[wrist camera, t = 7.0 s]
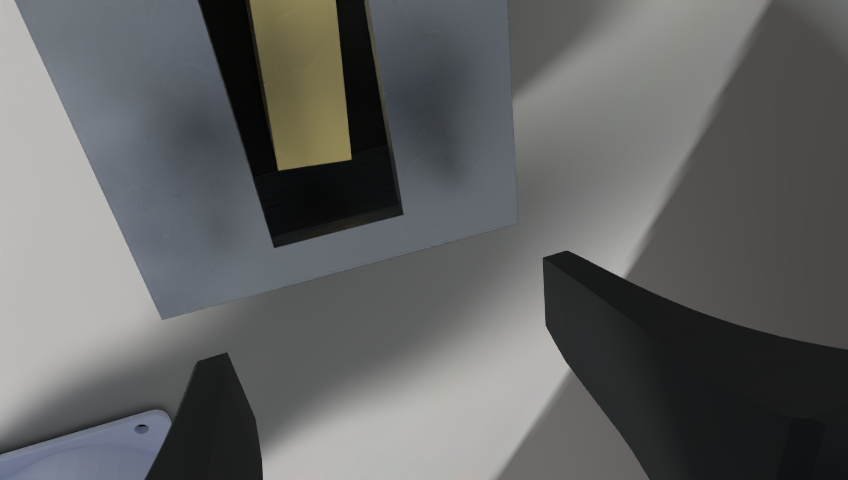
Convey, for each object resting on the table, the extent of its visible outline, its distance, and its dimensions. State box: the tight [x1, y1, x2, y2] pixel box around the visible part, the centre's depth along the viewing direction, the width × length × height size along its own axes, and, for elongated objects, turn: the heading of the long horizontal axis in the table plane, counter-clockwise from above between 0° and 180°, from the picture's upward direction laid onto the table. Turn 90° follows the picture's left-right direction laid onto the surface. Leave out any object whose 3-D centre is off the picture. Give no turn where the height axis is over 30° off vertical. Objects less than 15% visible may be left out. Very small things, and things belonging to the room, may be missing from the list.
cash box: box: [15, 0, 518, 320], centre depth 17 cm, size 10×10×6 cm
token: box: [246, 0, 352, 170], centre depth 18 cm, size 2×5×4 cm, turn 0°
